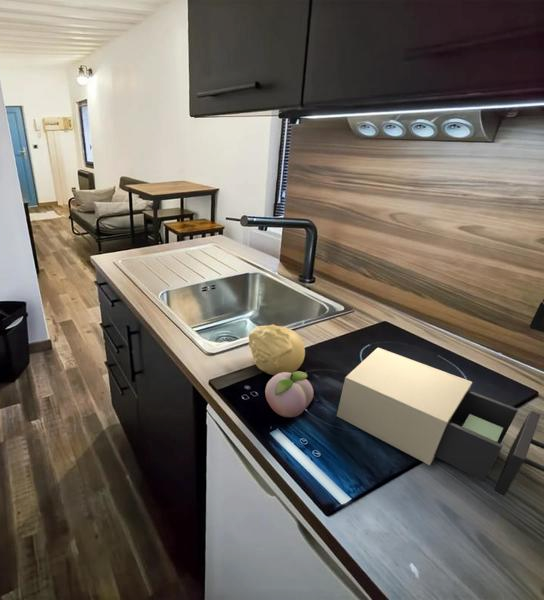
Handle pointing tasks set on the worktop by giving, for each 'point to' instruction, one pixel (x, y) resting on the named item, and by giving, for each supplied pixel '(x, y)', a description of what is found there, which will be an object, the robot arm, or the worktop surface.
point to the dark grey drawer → (487, 440)
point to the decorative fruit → (289, 393)
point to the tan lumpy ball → (276, 349)
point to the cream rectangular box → (401, 402)
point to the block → (483, 427)
